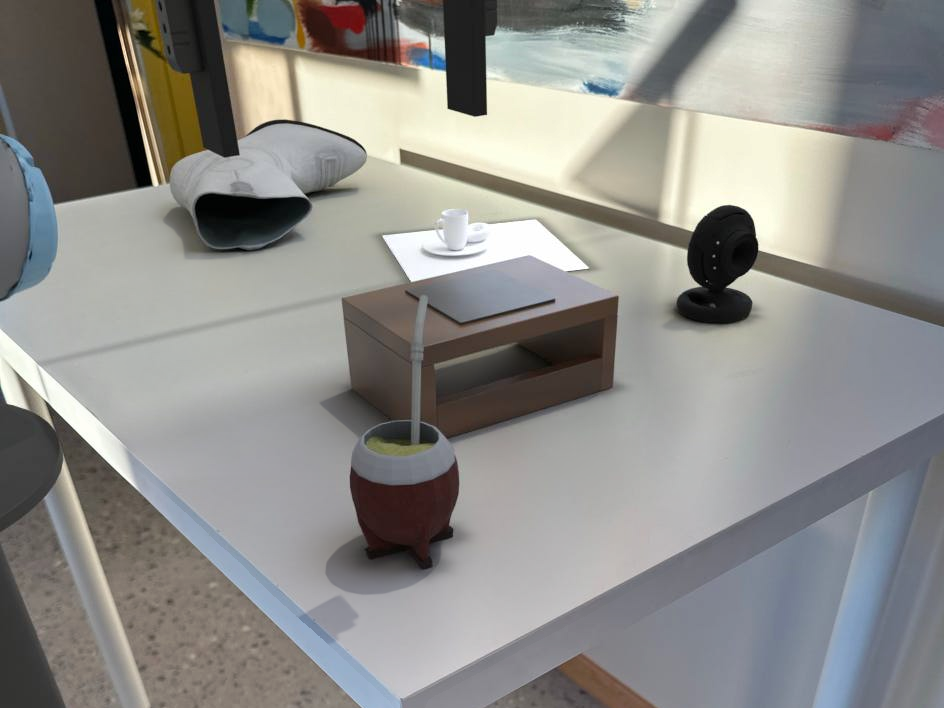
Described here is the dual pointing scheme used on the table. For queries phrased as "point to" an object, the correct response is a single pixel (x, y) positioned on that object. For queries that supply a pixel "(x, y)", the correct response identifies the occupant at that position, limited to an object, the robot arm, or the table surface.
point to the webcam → (720, 265)
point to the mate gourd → (405, 477)
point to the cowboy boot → (262, 182)
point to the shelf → (482, 341)
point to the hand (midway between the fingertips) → (351, 131)
